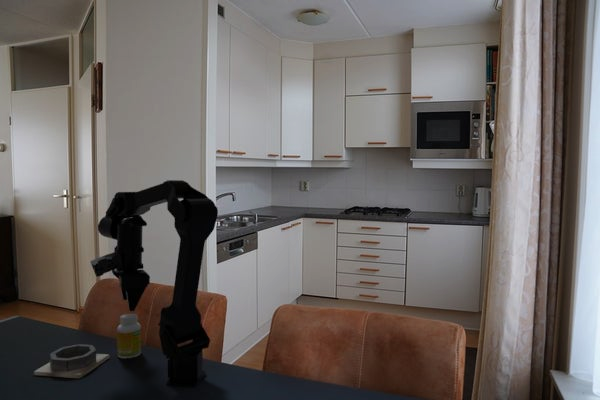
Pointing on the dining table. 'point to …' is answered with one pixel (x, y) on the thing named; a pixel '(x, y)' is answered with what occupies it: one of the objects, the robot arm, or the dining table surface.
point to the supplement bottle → (129, 336)
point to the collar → (72, 361)
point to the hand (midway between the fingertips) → (128, 305)
